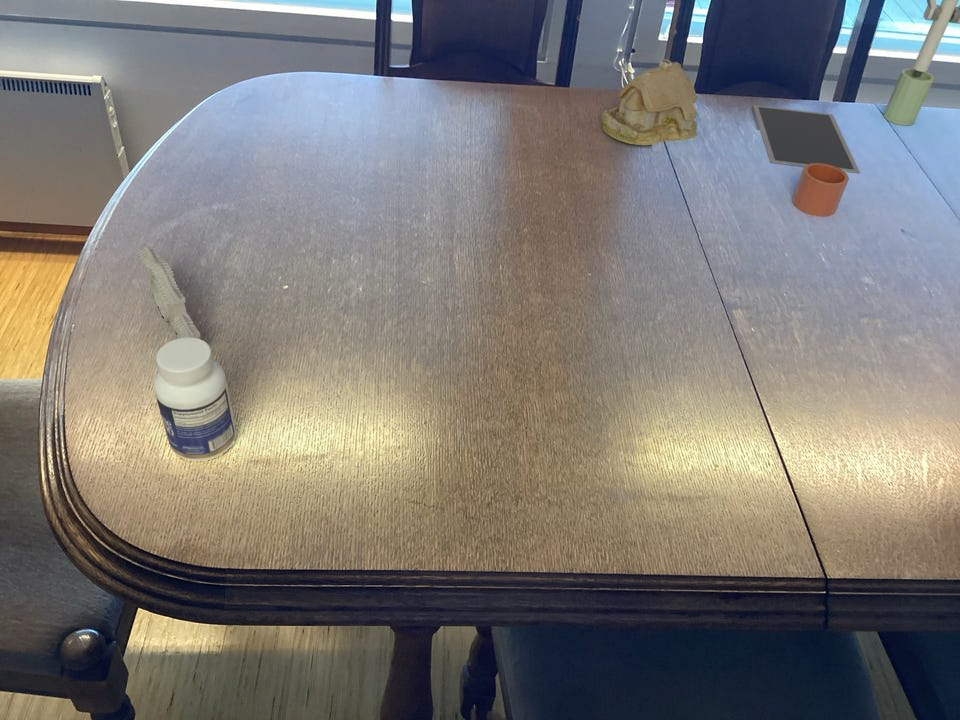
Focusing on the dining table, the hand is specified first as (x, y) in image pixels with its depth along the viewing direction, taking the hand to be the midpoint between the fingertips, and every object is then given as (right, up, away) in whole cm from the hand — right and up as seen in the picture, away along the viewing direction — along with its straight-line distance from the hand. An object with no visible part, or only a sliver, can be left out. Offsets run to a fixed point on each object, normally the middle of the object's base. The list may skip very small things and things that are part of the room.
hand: (941, 20), depth 116 cm
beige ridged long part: (-95, -45, -37) cm, 111 cm away
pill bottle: (-89, -55, -48) cm, 115 cm away
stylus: (-1, -6, +5) cm, 8 cm away
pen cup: (-1, -11, +10) cm, 15 cm away
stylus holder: (-23, -29, -12) cm, 39 cm away
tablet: (-19, -17, +2) cm, 26 cm away
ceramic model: (-41, -15, +1) cm, 44 cm away
